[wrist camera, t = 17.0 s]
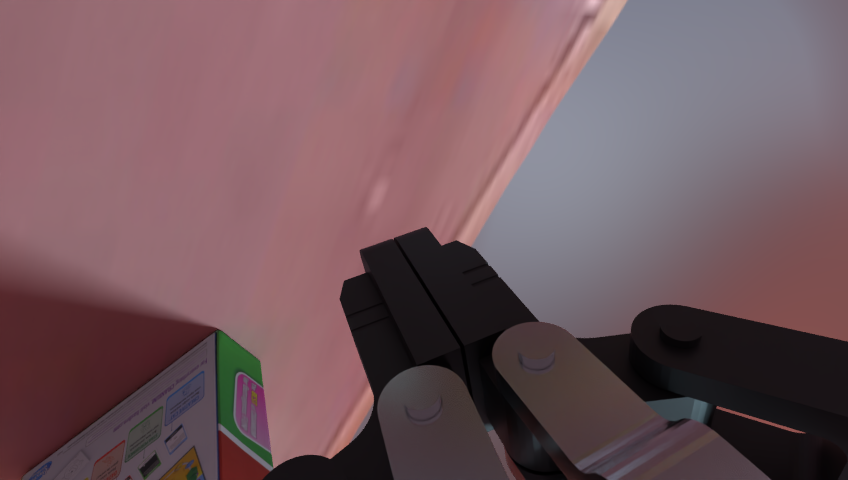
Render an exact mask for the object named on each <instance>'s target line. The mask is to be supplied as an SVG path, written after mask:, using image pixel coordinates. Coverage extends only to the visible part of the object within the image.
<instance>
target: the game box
mask: <svg viewBox="0 0 848 480" xmlns="http://www.w3.org/2000/svg"><path fill="white" fill-rule="evenodd" d="M271 470H273V462H272V455H271V447H270V438H269V430H268V422H267V414H266V406H265V397H264V389H263V382H262V373H261V364H260V361H259V360H258V359H257V358H256V357H254V356H253V355H252V354H250V353H249V352H248V351H246V350H245V349H244V348H242V347H241V346H240V345H239V344H237V343H236V342H235V341H234V340H232V339H231V338H230V337H228V336H227V335H226V334H225V333H223V332H222V331H219V330H217V331H215V332H214V333H213V334H211V335H210V336H209V337H207V338H206V339H205V340H203V341H202V342H201V343H199V344H198V345H197V346H195V347H194V348H193V349H191V350H190V351H189V352H187V353H186V354H185V355H183V356H182V357H181V358H179V359H178V360H177V361H176V362H174V363H173V364H172V365H170V366H169V367H168V368H166V369H165V370H164V371H162V372H161V373H160V374H158V375H157V376H156V377H154V378H153V379H152V380H150V381H149V382H148V383H146V384H145V385H144V386H142V387H141V388H140V389H138V390H137V391H136V392H134V393H133V394H132V395H130V396H129V397H128V398H126V399H125V400H124V401H122V402H121V403H120V404H118V405H117V406H116V407H114V408H113V409H111V410H110V411H109V412H108V413H106V414H105V415H104V416H102V417H101V418H100V419H98V420H97V421H96V422H94V423H93V424H92V425H90V426H89V427H88V428H86V429H85V430H84V431H82V432H81V433H80V434H78V435H77V436H76V437H74V438H73V439H72V440H70V441H69V442H68V443H67V444H65V445H64V446H63V447H61V448H60V449H59V450H57V451H56V452H55V453H53V454H52V455H51V456H49V457H48V458H47V459H45V460H44V461H43V462H41V463H40V464H39V465H37V466H36V467H35V468H33V469H32V470H30V471H29V472H28V473H26V474H25V475H24V476H23V477H22V478H21V480H262V479H263V478H264V477H265V476H266V475H267V474H268V473H269V472H270V471H271Z"/></svg>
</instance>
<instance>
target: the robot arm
mask: <svg viewBox="0 0 848 480" xmlns="http://www.w3.org/2000/svg"><path fill="white" fill-rule="evenodd" d="M360 255H361V259H362V262H363V266H364V269H365V272H366V273H364V274H362V275H359V276H356V277H353V278H351V279H348V280H345V281H344V283H343V287H342V292H341V296H340V301H341V304H342V307H343V310H344V313H345V316H346V319H347V322H348V324H349V327H350V330H351V333H352V336H353V339H354V342H355V345H356V347H357V350H358V353H359V356H360V359H361V361H362V364H363V367H364V370H365V372H366V375H367V378H368V381H369V384H370V386H371V389H372V392H373V395H374V406H373V411H372V414H371V417H370V419H369V421H368V423H367V424H366V426H365V428H364V429H363V431H362V432H361V433H360V434H359V435H358V436H357V438H355V439H354V440H353V441H352V442H351V443H350V444H349V445H347V446H346V447H345V448H344V449H342V450H341V451H340V452H339V453H338V454H336V455H335V456H334V457H333V458H331V459H328V458H326V457H323V456H319V455H304V456H299V457H295V458H293V459H290V460H287V461H285V462H284V463H282V464H280V465H278V466H277V467H276V468H274V469H273V470H271V471H270V472H269V473H268V474H267V475H266V476H265V477H264V478H263V479H262V480H509V478H508V476H507V473H506V471H505V469H504V467H503V465H502V463H501V461H500V458H499V456H498V454H497V452H496V450H495V448H494V445H493V443H492V441H491V439H490V437H489V435H488V433H487V432H489V431H491V430H493V429H494V430H495V431H496V433H497V435H498V436H499V438H500V440H501V442H502V443H503V445H504V450H505V458H506V462H507V465H508V467H509V469H510V471H511V473H512V474H513V476H514V477H515V478H516V480H848V342H847V341H842V340H838V339H833V338H828V337H824V336H819V335H815V334H810V333H806V332H801V331H797V330H792V329H787V328H783V327H778V326H774V325H769V324H765V323H760V322H755V321H751V320H746V319H742V318H737V317H733V316H728V315H723V314H719V313H714V312H709V311H705V310H701V309H696V308H691V307H687V306H681V305H660V306H654V307H651V308H648V309H646V310H644V311H642V312H641V313H640V314H638V315H637V317H636V318H635V319H634V321H633V323H632V327H631V333H630V334H622V335H615V336H606V337H599V338H575V337H574V336H573V335H572V334H570V333H569V332H568V331H566V330H565V329H563V328H561V327H559V326H556V325H554V324H550V323H545V322H539V321H538V320H537V319H536V317H535V316H534V315H533V314H532V313H531V312H530V311H529V309H528V308H527V307H526V306H525V305H524V304H523V303H522V302H521V300H520V299H519V298H518V297H517V296H516V295H515V294H514V292H513V291H512V290H511V289H510V288H509V287H508V286H507V284H506V283H505V282H504V281H503V280H502V279H501V278H499V277H498V274H497V273H496V272H495V271H494V270H493V268H492V267H491V266H489V265H488V263H487V262H486V261H485V260H484V258H483V257H482V256H481V255H480V254H479V253H478V251H477V250H476V249H474V248H472V247H470V246H467V245H465V244H463V243H461V242H459V241H453V242H451V243H448V244H445V245H442V246H441V245H440V243H439V242H438V241H437V239H436V238H435V237H434V235H433V234H432V233H431V232H430V230H429V229H428V228H427V227H424V228H421V229H418V230H416V231H413V232H410V233H407V234H404V235H401V236H398V237H395V238H394V240H393V239H390V240H387V241H384V242H381V243H379V244H376V245H373V246H370V247H367V248H364V249H361V250H360ZM717 406H719V407H723V408H726V409H730V410H733V411H736V412H739V413H743V414H746V415H749V416H753V417H756V418H759V419H763V420H766V421H769V422H772V423H776V424H779V425H783V426H786V427H789V428H792V429H795V430H799V431H802V432H805V433H795V432H791V431H788V430H784V429H781V428H778V427H775V426H771V425H768V424H765V423H761V422H758V421H755V420H751V419H748V418H745V417H742V416H739V415H735V414H731V413H729V412H725V411H722V410H719V409H716V407H717Z"/></svg>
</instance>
